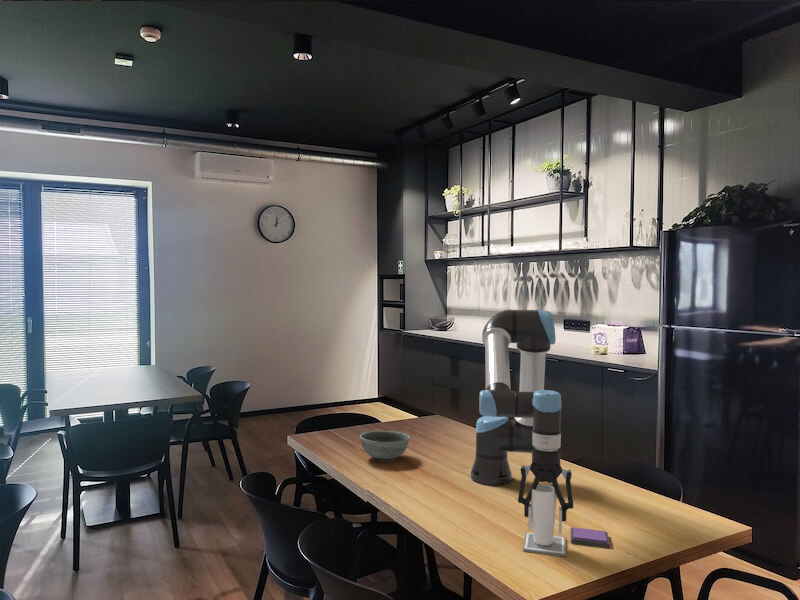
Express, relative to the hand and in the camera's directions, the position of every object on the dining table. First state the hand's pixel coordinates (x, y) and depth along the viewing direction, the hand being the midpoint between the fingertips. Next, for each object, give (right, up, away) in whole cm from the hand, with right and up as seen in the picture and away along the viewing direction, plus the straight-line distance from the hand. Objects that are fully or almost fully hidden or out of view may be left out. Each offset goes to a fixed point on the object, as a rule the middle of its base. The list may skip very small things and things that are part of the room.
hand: (544, 530), depth 157 cm
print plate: (0, -4, 0) cm, 4 cm away
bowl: (-46, -3, +78) cm, 91 cm away
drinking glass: (0, -4, 0) cm, 4 cm away
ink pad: (+14, -4, +4) cm, 15 cm away
